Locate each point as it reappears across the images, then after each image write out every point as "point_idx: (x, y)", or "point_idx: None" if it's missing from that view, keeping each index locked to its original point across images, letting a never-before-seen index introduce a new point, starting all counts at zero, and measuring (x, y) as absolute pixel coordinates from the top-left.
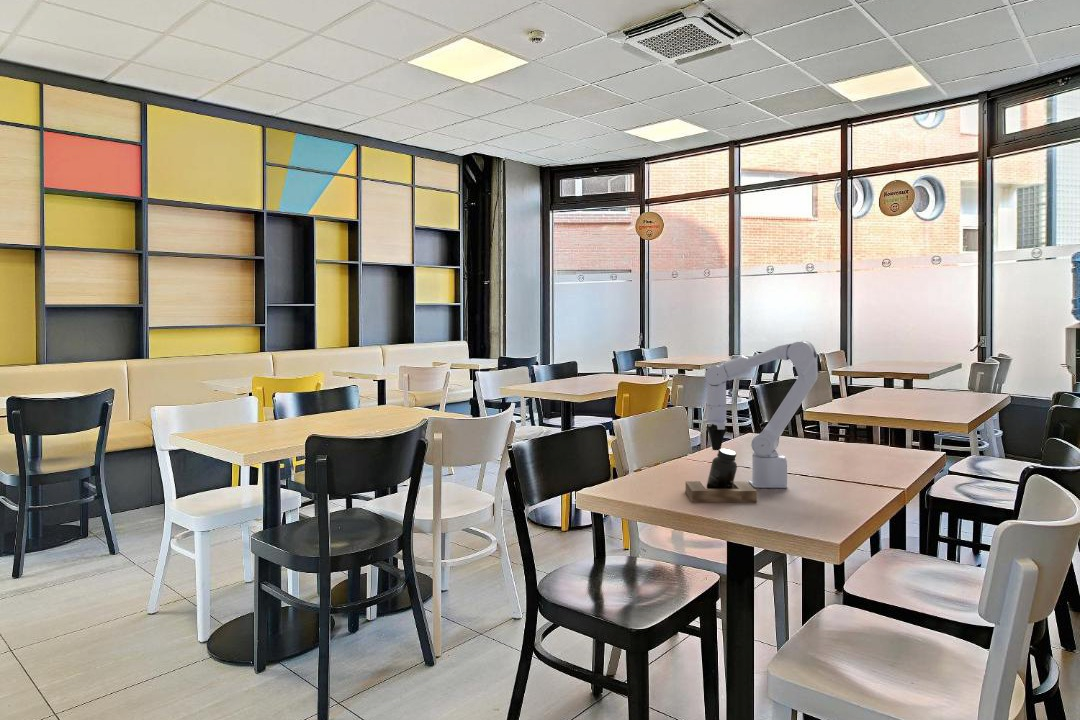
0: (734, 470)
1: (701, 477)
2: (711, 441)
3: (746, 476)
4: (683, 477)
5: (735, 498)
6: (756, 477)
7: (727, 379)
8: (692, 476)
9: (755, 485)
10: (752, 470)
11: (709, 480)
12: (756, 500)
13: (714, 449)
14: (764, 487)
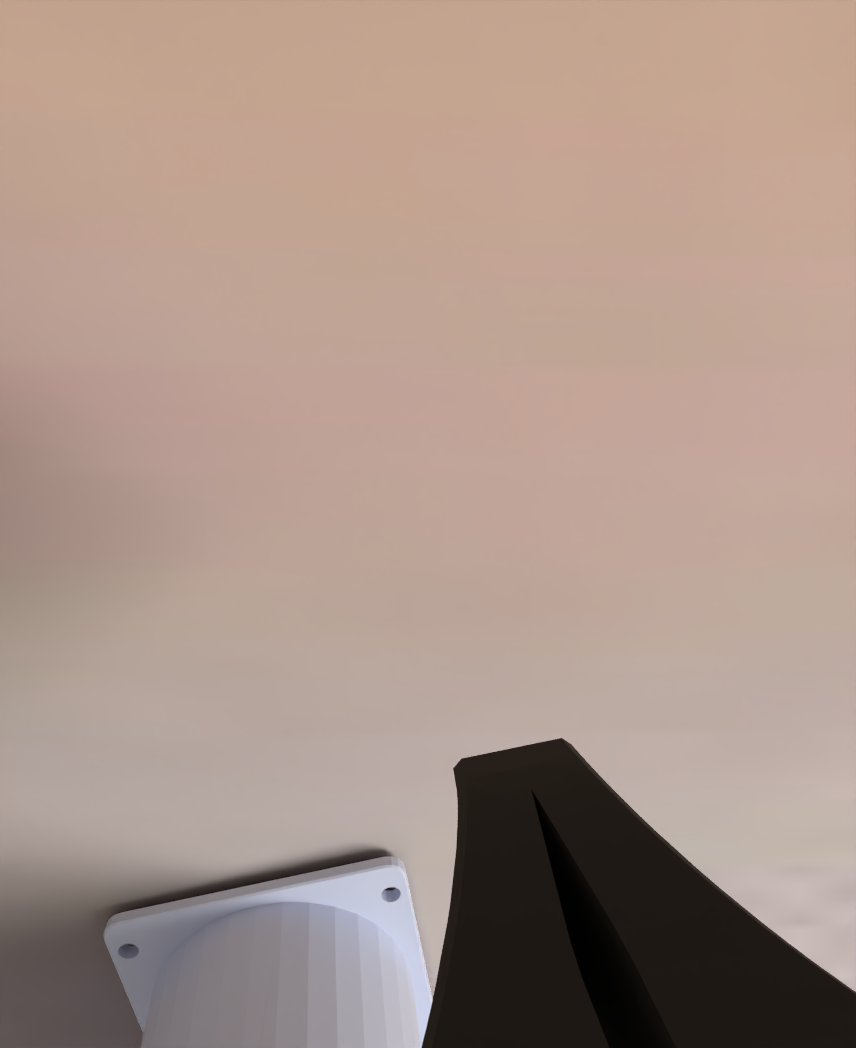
0: None
1: (612, 336)
2: (547, 901)
3: (696, 825)
4: (592, 43)
5: None
6: (171, 1014)
7: None
8: (672, 200)
9: (144, 932)
10: (264, 1038)
11: None
12: None
13: (458, 796)
14: (130, 991)
